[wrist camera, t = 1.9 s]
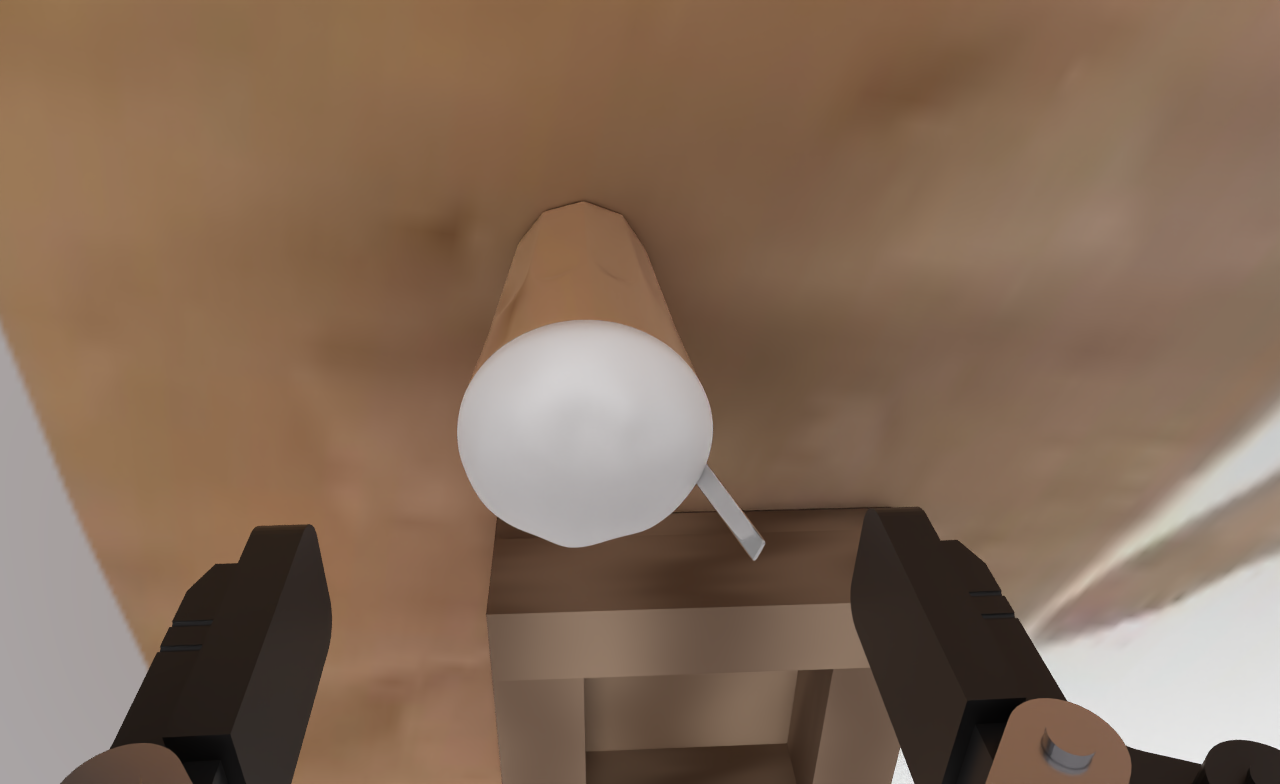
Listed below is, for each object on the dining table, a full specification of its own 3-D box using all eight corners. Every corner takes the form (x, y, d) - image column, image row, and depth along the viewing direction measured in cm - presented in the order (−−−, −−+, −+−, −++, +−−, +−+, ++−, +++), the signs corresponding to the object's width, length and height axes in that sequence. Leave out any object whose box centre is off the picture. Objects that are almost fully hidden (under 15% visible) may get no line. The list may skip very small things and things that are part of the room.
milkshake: (659, 371, 25) (706, 645, 16) (469, 310, 24) (411, 574, 15) (728, 222, 23) (822, 448, 14) (523, 147, 22) (492, 346, 13)
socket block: (892, 507, 28) (937, 600, 25) (841, 761, 34) (870, 864, 31) (497, 517, 27) (486, 614, 24) (517, 775, 33) (511, 882, 30)
